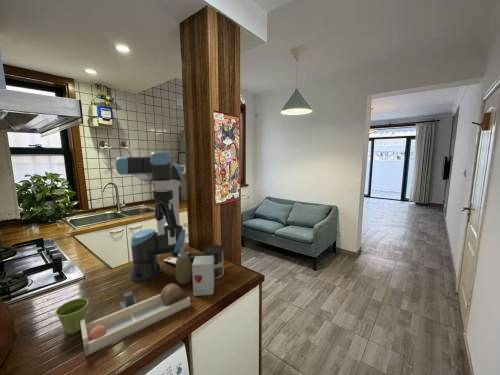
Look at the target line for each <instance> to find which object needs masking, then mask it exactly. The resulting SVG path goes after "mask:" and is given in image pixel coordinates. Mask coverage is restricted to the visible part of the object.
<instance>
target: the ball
mask: <svg viewBox="0 0 500 375" xmlns="http://www.w3.org/2000/svg"><path fill="white" fill-rule="evenodd" d="M105 334H107V329H106V327H105V326H103V325H99V326H96V327H95V328H93V329H92V330H91V332H90V334H89V340H90V341H92V340H94V339H96V338H99V337H101V336H103V335H105Z"/></svg>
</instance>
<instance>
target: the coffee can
mask: <svg viewBox="0 0 500 375" xmlns="http://www.w3.org/2000/svg"><path fill="white" fill-rule="evenodd" d="M202 251H203V256H214V280H217V279H220V278H222V277H223V276H224V273H225V272H224V247H223V246H222V245H218V244H211V245H207V246H205V247H203V250H202Z"/></svg>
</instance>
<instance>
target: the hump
mask: <svg viewBox="0 0 500 375" xmlns="http://www.w3.org/2000/svg"><path fill="white" fill-rule="evenodd" d="M160 294H161V300H162V301H163V302H164V304H165V305H166V306H169V305H172V304H174V303H176V302H178V301H181V300H183V299H185V298H186V295H185V292H184V291H183V289H182V288H181V287H180V286H179V285H178V283H169V284H167V285H165V286H164V287H163V289H162V290H161V292H160Z"/></svg>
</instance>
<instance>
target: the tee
mask: <svg viewBox="0 0 500 375" xmlns="http://www.w3.org/2000/svg"><path fill="white" fill-rule="evenodd" d="M122 295H123V301H122V302H119V307H120V310H122V309H125V308H127V307H129V306H132V305H134V304H137V303H139V302H138V300H137V298H136V297H135V296H134V294H133V291H132V290H129V291H126V292H124V293H122Z"/></svg>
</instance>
